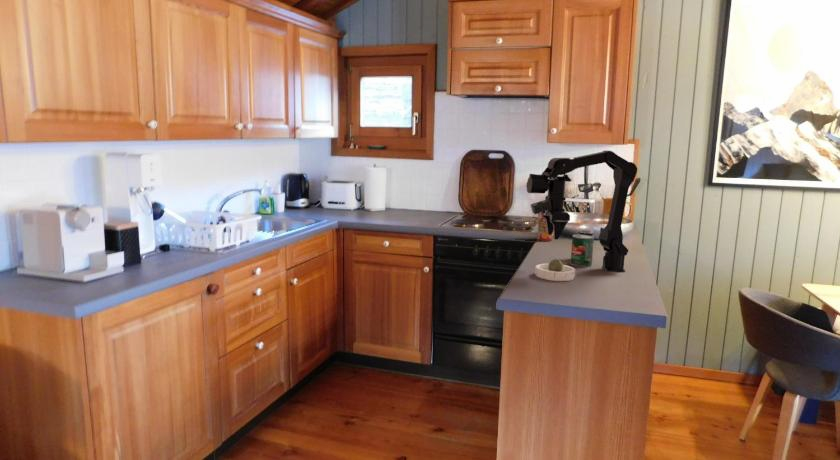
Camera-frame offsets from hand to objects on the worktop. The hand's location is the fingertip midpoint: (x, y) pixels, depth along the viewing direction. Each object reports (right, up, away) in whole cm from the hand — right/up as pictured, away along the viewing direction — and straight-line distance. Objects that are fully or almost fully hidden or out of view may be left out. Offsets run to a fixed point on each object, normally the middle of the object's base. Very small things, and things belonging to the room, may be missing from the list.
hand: (552, 237), depth 207 cm
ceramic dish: (-1, -13, -8) cm, 16 cm away
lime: (-1, -13, -8) cm, 15 cm away
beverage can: (+17, -9, +22) cm, 30 cm away
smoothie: (+11, -2, +61) cm, 62 cm away
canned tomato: (+13, -11, +12) cm, 21 cm away
